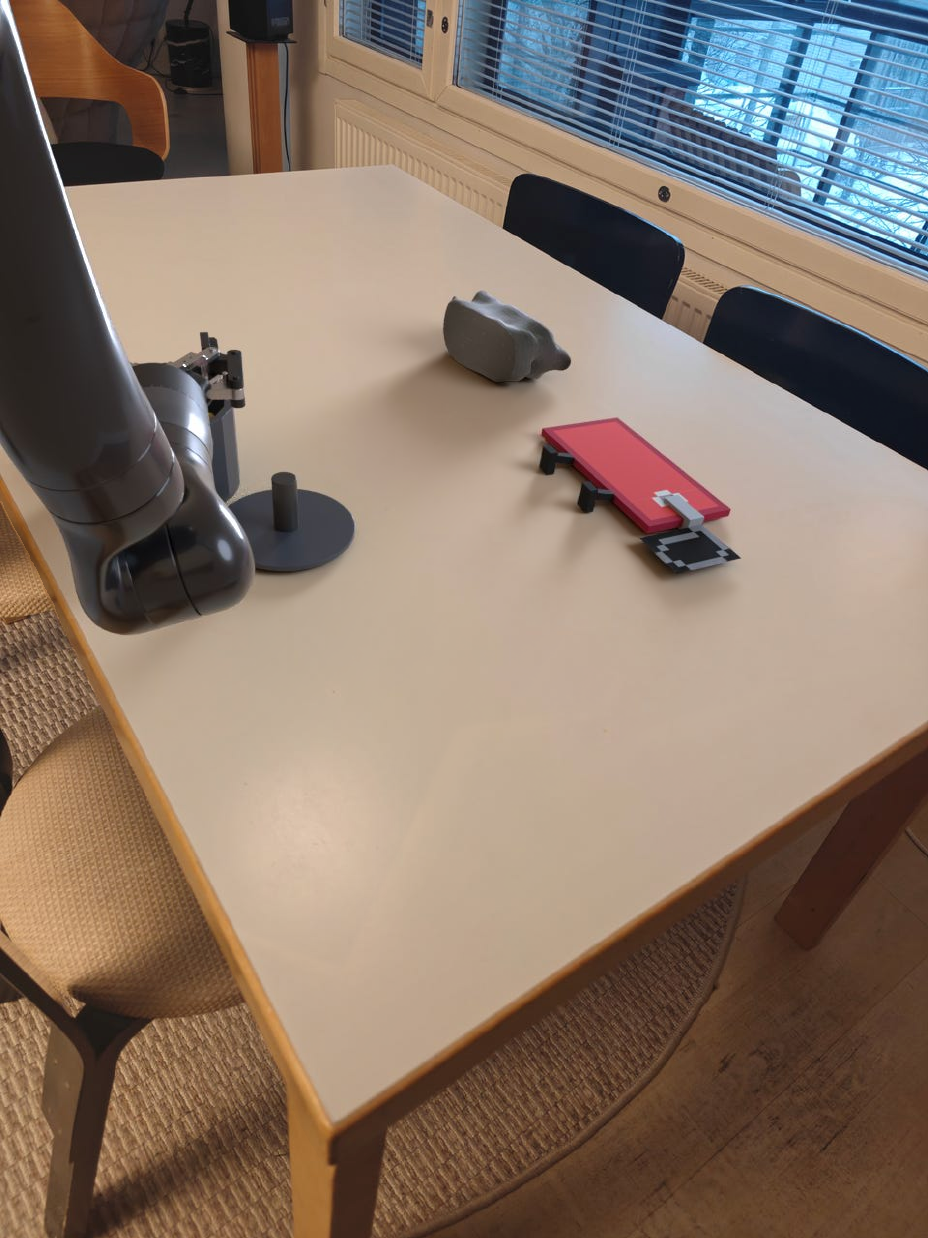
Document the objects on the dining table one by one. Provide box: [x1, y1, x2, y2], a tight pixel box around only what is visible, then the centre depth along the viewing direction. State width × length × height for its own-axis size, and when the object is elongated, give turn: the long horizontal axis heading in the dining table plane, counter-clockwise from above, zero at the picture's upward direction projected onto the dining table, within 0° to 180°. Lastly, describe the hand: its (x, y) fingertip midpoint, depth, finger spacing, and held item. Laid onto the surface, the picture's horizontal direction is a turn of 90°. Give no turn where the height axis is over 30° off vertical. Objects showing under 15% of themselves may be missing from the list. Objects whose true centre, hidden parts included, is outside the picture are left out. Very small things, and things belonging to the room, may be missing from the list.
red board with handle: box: [538, 417, 742, 575], centre depth 97 cm, size 30×3×15 cm
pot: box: [207, 380, 241, 504], centre depth 89 cm, size 13×18×10 cm
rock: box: [442, 290, 572, 383], centre depth 119 cm, size 18×11×8 cm, turn 40°
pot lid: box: [227, 471, 356, 572], centre depth 84 cm, size 14×14×7 cm
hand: (154, 343), depth 76 cm, fingers open, 8 cm apart
